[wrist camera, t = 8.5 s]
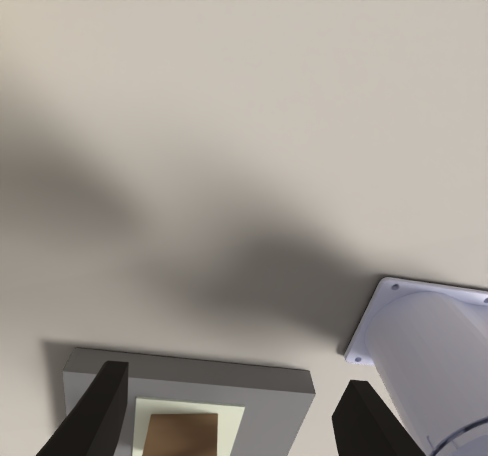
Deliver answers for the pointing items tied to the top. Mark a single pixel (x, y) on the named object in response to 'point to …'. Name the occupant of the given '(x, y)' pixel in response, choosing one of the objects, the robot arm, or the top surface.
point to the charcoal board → (202, 399)
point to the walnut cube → (182, 435)
